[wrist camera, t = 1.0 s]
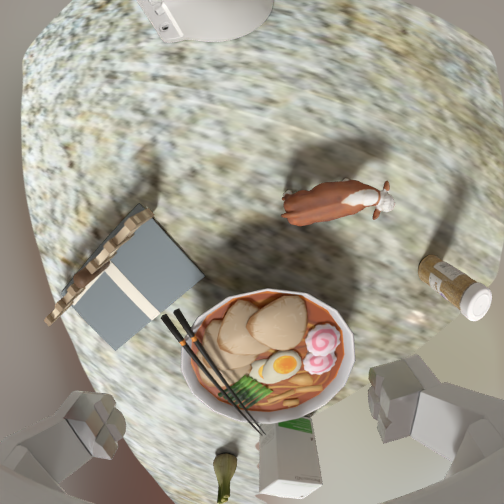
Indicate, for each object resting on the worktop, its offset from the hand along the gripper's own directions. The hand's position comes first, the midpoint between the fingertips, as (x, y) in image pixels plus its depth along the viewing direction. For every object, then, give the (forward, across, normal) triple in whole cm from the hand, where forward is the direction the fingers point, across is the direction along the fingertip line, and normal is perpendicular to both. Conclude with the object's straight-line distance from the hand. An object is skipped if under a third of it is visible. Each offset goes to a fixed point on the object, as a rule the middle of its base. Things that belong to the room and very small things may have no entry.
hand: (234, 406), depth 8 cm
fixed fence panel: (+30, +28, +3) cm, 41 cm away
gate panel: (+29, +16, -3) cm, 34 cm away
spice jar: (+32, -25, +10) cm, 42 cm away
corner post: (+30, +22, 0) cm, 37 cm away
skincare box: (+34, +1, +36) cm, 49 cm away
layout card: (+30, +20, +4) cm, 37 cm away
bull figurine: (+31, -10, -3) cm, 33 cm away
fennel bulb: (+34, +15, +46) cm, 59 cm away
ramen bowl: (+32, +1, +16) cm, 36 cm away
